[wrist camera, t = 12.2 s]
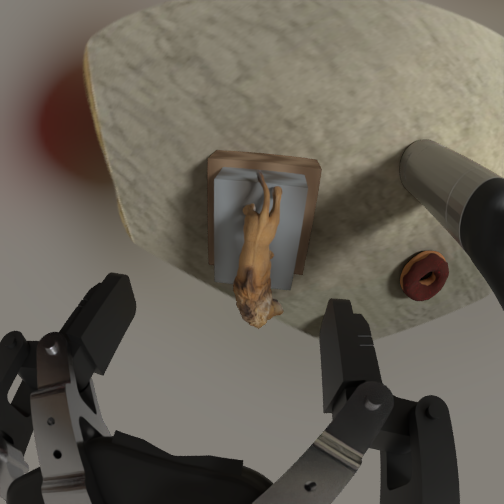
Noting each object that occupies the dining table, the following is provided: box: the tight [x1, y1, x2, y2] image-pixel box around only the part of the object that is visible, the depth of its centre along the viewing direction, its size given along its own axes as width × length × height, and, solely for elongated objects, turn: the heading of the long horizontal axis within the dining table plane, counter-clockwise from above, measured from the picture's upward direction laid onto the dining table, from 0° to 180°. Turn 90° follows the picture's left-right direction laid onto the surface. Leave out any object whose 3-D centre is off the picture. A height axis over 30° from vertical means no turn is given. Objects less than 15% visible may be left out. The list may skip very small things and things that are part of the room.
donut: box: [400, 251, 449, 301], centre depth 42 cm, size 10×10×4 cm
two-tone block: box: [207, 150, 322, 290], centre depth 37 cm, size 14×16×10 cm
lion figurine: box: [233, 170, 283, 329], centre depth 28 cm, size 15×5×9 cm, turn 3°
